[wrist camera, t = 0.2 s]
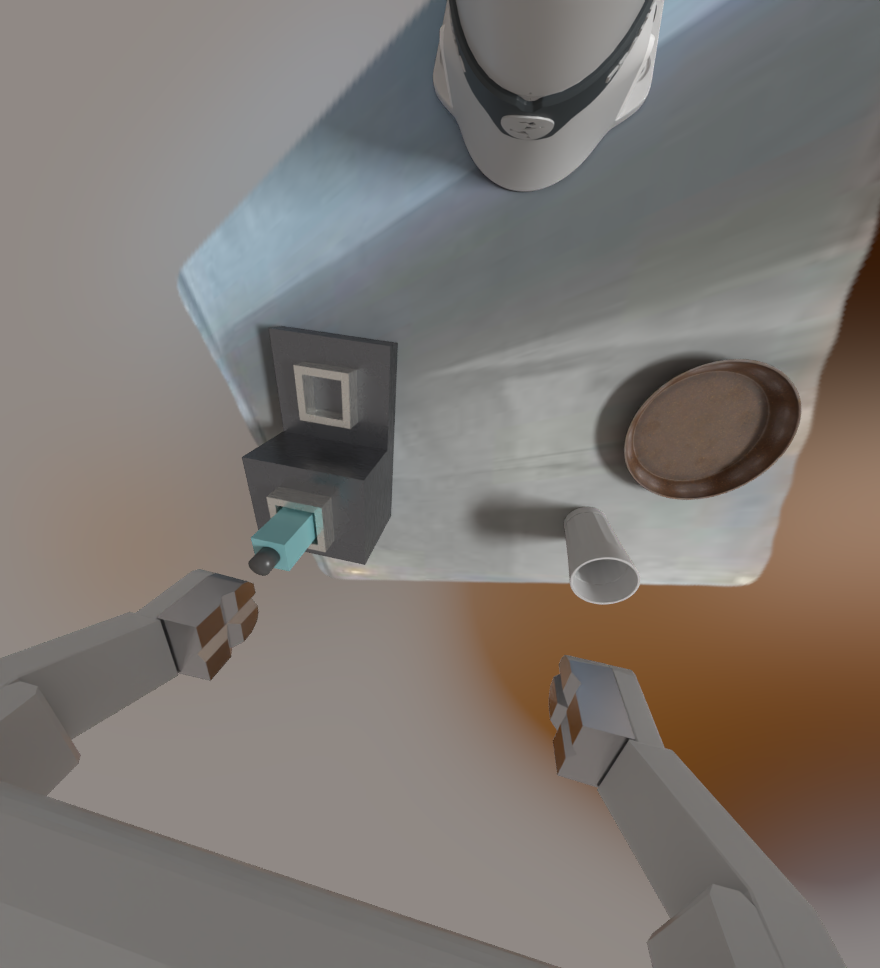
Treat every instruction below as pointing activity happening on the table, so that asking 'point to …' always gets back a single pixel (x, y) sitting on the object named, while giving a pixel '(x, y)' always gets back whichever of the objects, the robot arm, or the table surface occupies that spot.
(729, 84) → the table surface
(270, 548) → the plug
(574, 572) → the cup
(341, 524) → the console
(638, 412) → the plant saucer
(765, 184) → the table surface
